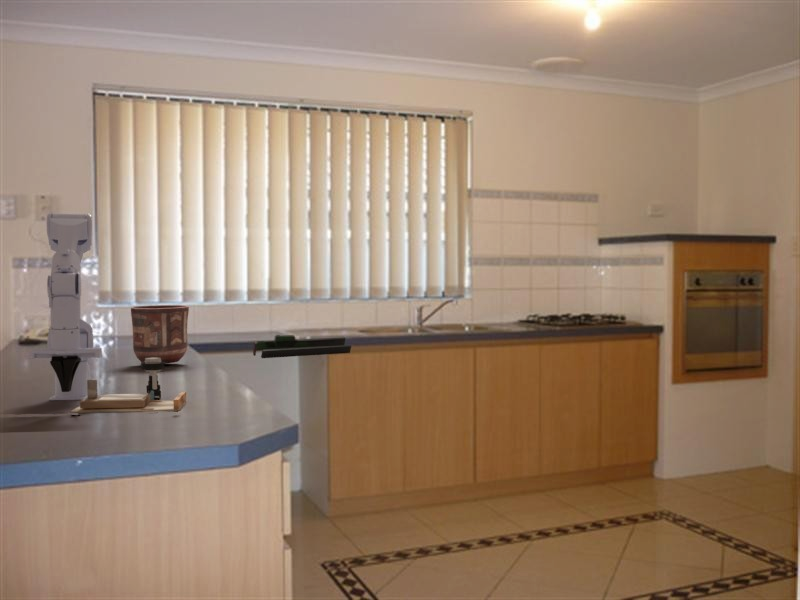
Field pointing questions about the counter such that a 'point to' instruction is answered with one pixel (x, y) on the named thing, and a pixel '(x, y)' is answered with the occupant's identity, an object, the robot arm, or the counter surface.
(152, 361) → the push button
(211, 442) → the counter surface
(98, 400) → the carriage
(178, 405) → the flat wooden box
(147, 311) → the pottery
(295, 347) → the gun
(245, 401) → the counter surface
